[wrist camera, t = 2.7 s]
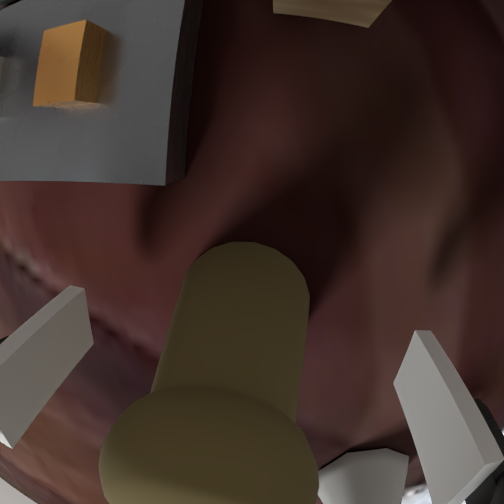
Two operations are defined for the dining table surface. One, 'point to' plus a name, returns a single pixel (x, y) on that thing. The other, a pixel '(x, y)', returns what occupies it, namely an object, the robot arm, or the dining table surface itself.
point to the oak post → (334, 10)
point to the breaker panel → (96, 89)
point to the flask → (364, 478)
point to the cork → (222, 392)
